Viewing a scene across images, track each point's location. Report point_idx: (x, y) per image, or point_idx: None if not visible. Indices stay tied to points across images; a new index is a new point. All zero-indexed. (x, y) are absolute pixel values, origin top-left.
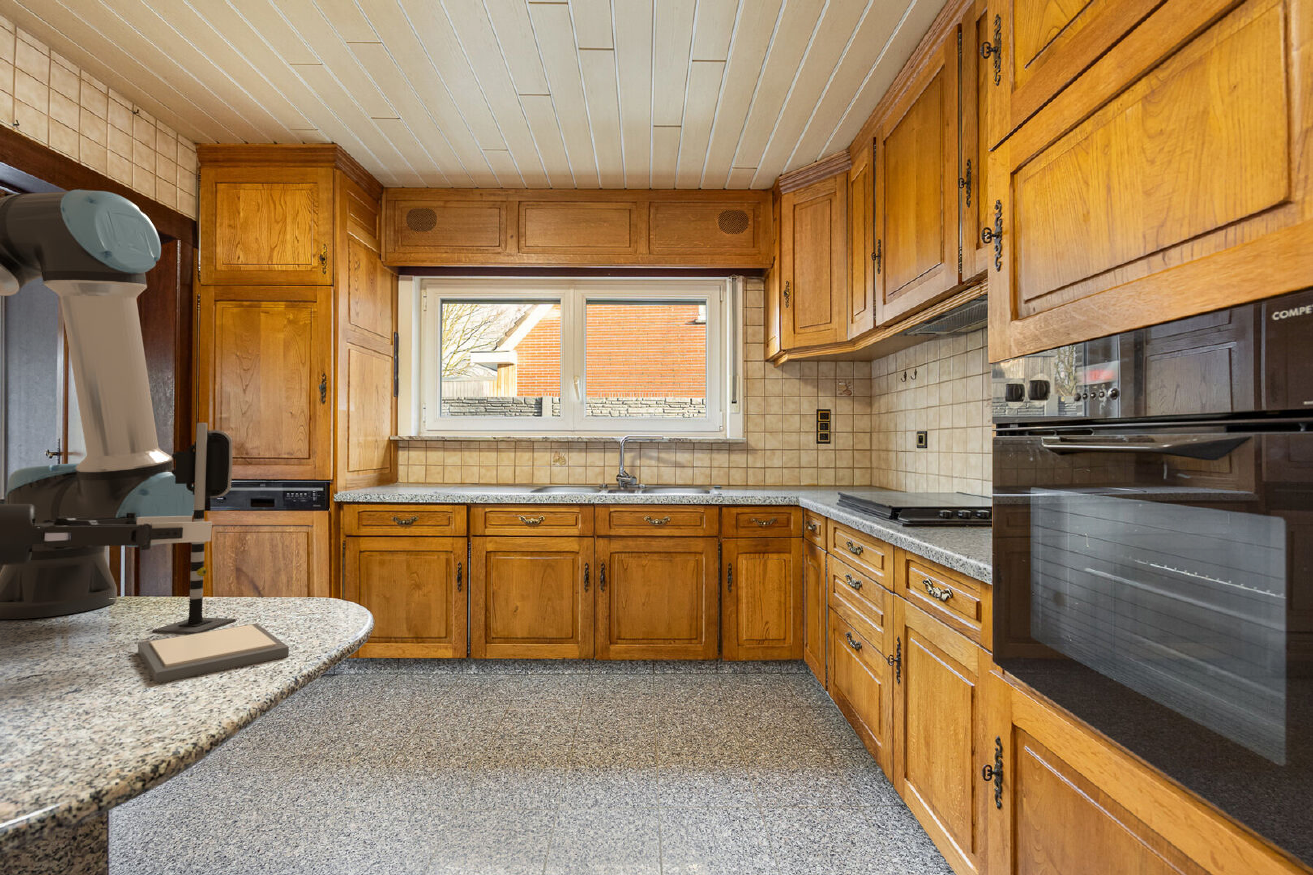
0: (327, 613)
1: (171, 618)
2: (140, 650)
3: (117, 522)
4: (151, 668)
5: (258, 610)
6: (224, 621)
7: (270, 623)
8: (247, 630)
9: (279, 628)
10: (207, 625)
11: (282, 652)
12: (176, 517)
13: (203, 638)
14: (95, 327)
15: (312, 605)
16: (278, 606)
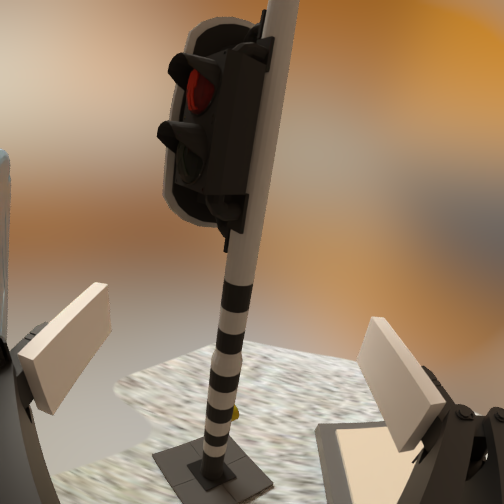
0: (269, 360)
1: (108, 467)
2: None
3: (23, 426)
4: None
5: (176, 391)
6: (229, 442)
7: (275, 410)
8: (367, 436)
9: (313, 410)
10: (237, 464)
11: None
12: (91, 304)
13: (383, 477)
14: None
15: (209, 352)
16: (175, 371)
